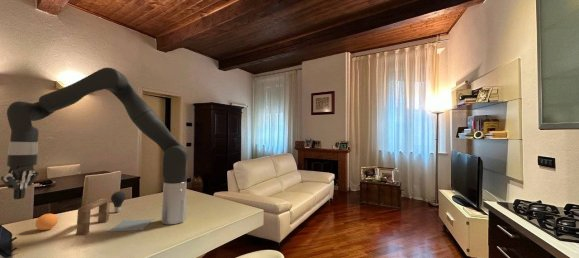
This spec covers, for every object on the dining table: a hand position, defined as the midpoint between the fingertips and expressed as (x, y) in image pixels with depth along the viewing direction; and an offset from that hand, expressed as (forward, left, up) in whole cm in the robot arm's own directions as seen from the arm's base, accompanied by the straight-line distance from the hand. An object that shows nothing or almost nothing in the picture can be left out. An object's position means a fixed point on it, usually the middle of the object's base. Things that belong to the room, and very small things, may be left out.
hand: (19, 198), depth 87 cm
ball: (-10, 0, -9) cm, 13 cm away
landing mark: (-40, 0, -12) cm, 41 cm away
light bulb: (-25, -20, -12) cm, 34 cm away
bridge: (-26, 0, -12) cm, 28 cm away
